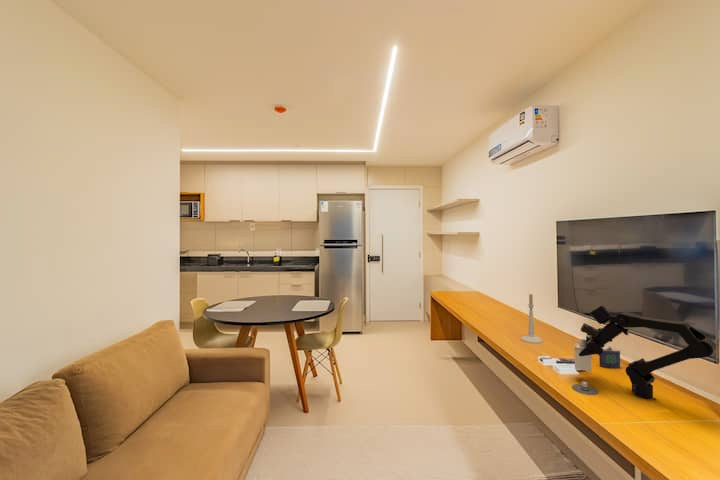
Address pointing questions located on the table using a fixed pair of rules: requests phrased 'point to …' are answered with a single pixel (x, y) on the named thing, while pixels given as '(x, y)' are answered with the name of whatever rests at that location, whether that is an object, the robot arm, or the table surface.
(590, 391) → the gray disc
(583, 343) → the rubber stamp
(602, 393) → the table surface
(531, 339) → the candlestick
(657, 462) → the table surface
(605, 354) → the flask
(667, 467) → the table surface
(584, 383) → the stud
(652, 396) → the robot arm
